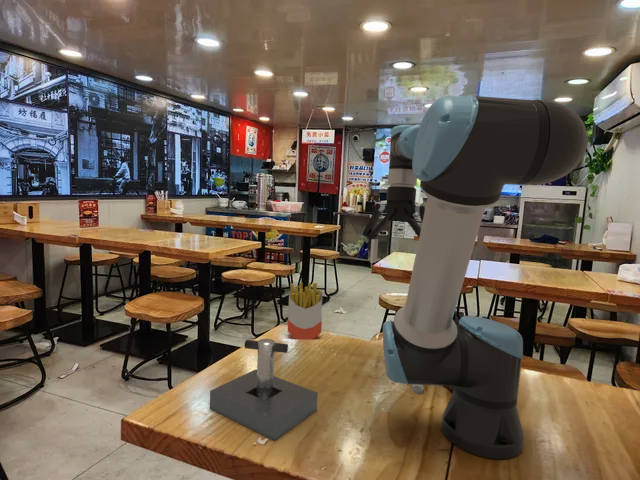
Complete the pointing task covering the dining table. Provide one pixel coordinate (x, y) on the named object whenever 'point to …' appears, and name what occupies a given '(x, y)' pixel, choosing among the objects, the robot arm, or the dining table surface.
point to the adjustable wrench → (417, 389)
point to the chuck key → (265, 364)
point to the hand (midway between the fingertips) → (396, 265)
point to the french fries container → (305, 312)
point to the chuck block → (264, 404)
